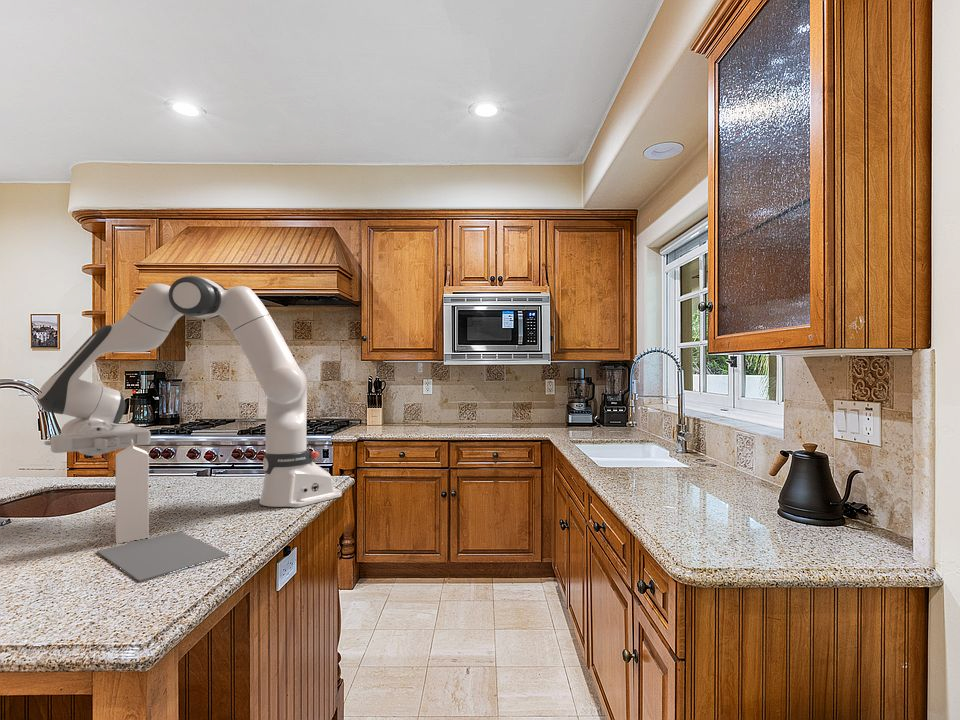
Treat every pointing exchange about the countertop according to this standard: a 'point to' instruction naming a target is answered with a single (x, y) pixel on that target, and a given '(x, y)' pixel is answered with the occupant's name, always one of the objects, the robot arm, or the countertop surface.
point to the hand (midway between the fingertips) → (112, 443)
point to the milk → (132, 494)
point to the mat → (160, 555)
